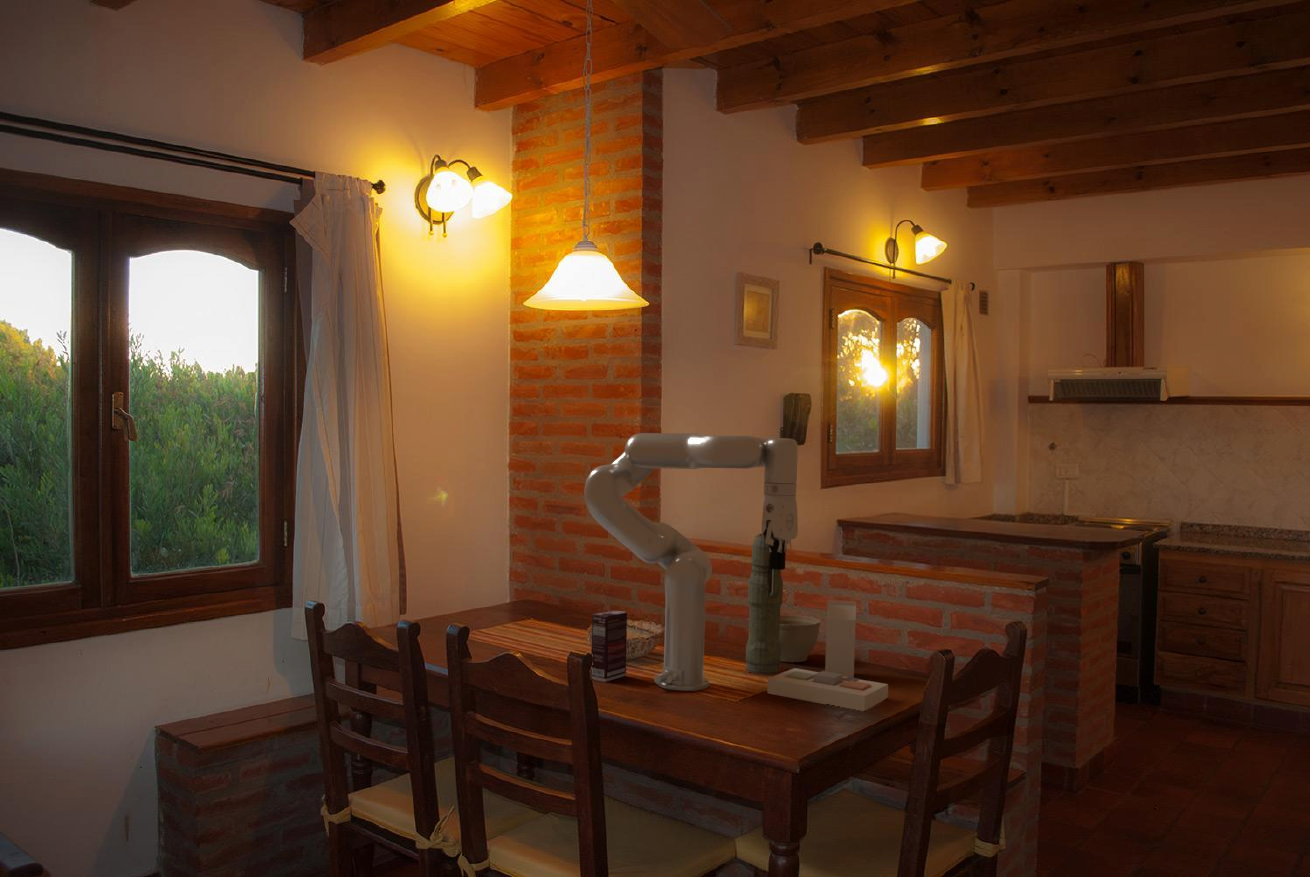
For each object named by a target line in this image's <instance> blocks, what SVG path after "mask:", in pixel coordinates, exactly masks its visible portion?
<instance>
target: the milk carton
mask: <svg viewBox="0 0 1310 877" xmlns="http://www.w3.org/2000/svg"><path fill="white" fill-rule="evenodd" d="M826 608H827V609H826V610H827V611H826V612H827V613H826V633H825V634H826V635H825V638H826V639H825V659H824V660H825V661H824V663H825V664H824V665H825V666H824V667H825V669H824V671H826V672H832V673H838V674H842V676H846V677H851V678H855V677H854V676H855V654H856V652H855V651H856V650H855V648H856V645H855V644H856V623H857V620H856V619H857V618H856V616H857V601H851V600H850V601H849V600H836V599H835V600H833V599H832V600H831V599H828V600H827V607H826Z"/></svg>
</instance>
